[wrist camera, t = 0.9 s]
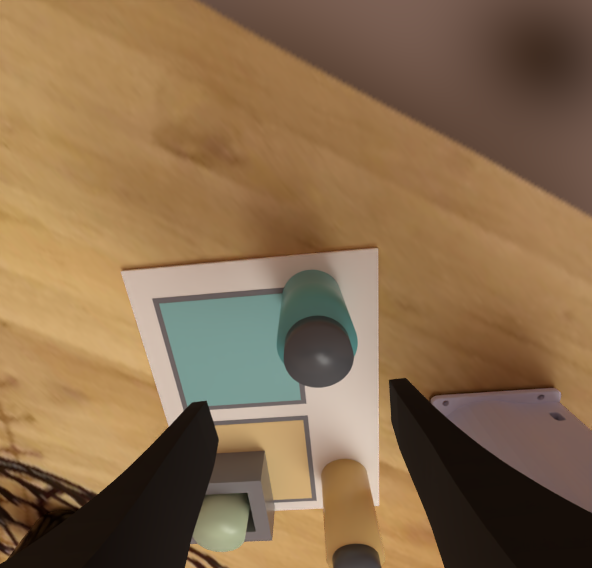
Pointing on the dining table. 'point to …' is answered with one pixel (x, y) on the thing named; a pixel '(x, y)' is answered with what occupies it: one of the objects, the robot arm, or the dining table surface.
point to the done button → (222, 521)
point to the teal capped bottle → (315, 330)
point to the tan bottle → (350, 517)
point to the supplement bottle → (42, 528)
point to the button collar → (246, 489)
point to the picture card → (263, 364)
